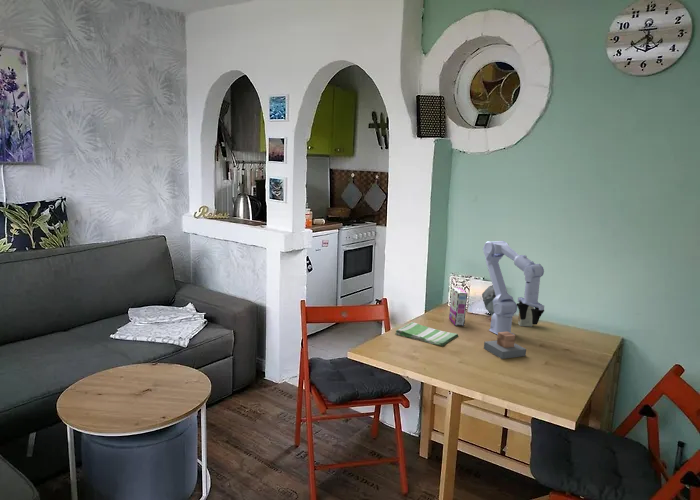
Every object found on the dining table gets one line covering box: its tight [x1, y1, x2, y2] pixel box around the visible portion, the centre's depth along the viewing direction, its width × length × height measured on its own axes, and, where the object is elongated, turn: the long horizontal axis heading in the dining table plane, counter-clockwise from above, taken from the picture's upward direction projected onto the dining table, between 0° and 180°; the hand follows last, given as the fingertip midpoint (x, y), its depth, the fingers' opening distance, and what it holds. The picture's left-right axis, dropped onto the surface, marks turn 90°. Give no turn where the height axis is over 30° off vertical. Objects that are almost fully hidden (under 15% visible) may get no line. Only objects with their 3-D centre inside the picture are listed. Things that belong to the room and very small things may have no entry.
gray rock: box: [481, 284, 504, 321], centre depth 259 cm, size 14×15×18 cm
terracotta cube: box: [496, 332, 516, 348], centre depth 212 cm, size 5×5×5 cm
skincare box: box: [517, 306, 535, 327], centre depth 251 cm, size 6×4×12 cm
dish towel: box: [395, 321, 459, 347], centre depth 230 cm, size 18×23×3 cm
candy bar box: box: [448, 287, 468, 327], centre depth 249 cm, size 11×5×16 cm, turn 5°
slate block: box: [483, 339, 527, 360], centre depth 213 cm, size 12×12×3 cm
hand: (528, 321), depth 222 cm, fingers open, 7 cm apart
